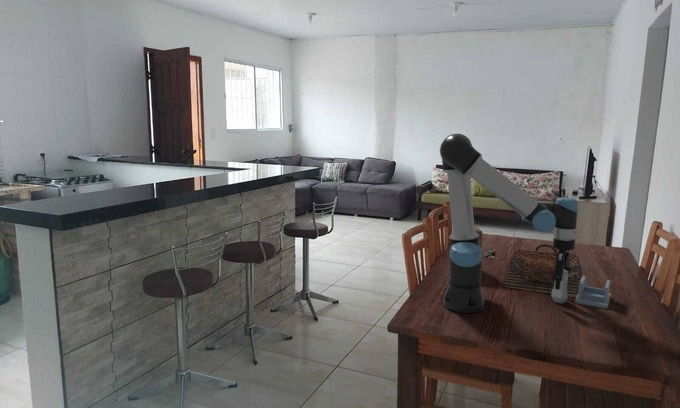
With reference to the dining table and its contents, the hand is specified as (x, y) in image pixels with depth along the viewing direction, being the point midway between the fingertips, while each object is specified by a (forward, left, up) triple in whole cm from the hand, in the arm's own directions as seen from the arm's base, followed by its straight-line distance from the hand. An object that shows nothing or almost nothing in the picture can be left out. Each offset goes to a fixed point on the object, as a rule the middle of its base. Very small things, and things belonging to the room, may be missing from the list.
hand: (560, 291), depth 188 cm
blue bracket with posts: (+9, -11, -4) cm, 15 cm away
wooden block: (+19, +43, -4) cm, 47 cm away
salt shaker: (0, 0, -4) cm, 4 cm away
